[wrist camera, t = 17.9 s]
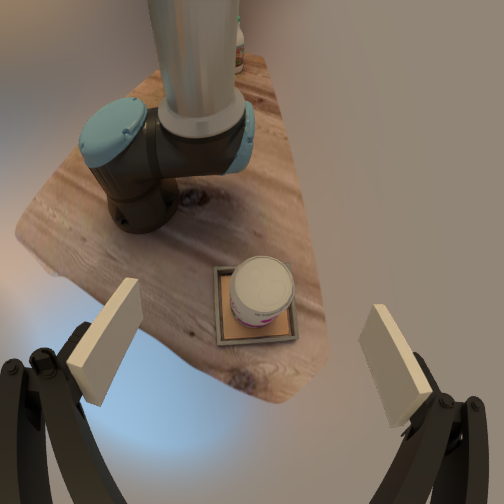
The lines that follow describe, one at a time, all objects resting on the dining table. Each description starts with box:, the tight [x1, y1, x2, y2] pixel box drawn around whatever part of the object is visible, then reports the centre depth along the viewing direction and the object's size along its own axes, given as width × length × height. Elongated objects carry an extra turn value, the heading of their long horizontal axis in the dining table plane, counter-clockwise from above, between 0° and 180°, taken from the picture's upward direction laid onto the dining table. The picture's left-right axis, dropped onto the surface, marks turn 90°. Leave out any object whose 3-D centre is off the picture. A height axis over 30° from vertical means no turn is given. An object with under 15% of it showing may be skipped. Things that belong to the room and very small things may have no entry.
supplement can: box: [229, 256, 295, 328], centre depth 40 cm, size 8×8×15 cm
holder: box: [213, 263, 299, 346], centre depth 46 cm, size 13×13×2 cm
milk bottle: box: [235, 16, 244, 74], centre depth 63 cm, size 8×8×20 cm
